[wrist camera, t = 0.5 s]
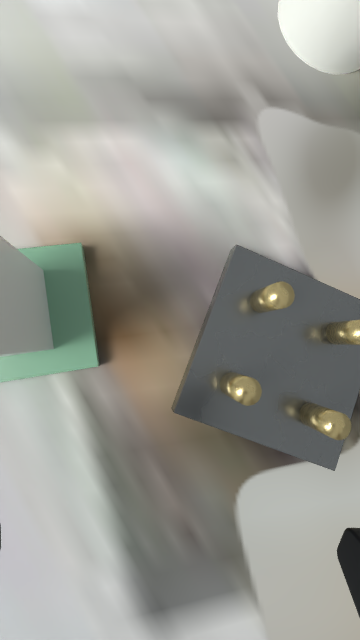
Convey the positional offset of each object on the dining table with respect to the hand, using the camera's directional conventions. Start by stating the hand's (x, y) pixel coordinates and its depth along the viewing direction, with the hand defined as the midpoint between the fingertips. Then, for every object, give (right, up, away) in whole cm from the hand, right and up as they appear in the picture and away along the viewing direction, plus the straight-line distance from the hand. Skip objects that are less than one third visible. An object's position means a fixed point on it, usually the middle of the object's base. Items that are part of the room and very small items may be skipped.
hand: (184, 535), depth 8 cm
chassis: (+7, +3, +15) cm, 16 cm away
